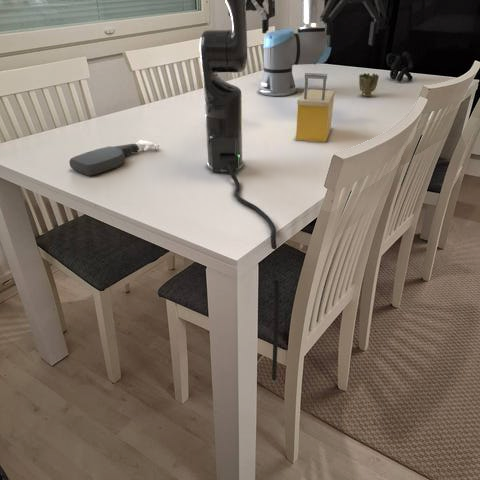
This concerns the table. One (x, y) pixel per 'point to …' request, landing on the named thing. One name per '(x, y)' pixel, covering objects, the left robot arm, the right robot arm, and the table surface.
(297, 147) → the table surface
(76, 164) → the spray bottle
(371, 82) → the cup
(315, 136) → the yellow hollow box
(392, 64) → the squiggle
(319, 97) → the lid
